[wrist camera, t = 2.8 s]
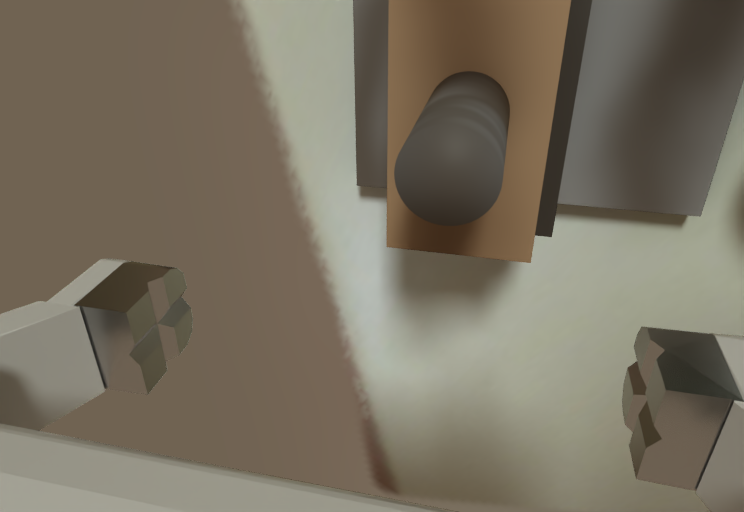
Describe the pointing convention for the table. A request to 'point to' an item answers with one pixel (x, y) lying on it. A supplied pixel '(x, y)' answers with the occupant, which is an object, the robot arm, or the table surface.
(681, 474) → the robot arm
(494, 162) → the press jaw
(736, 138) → the table surface
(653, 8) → the frame
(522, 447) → the table surface
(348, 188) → the table surface
